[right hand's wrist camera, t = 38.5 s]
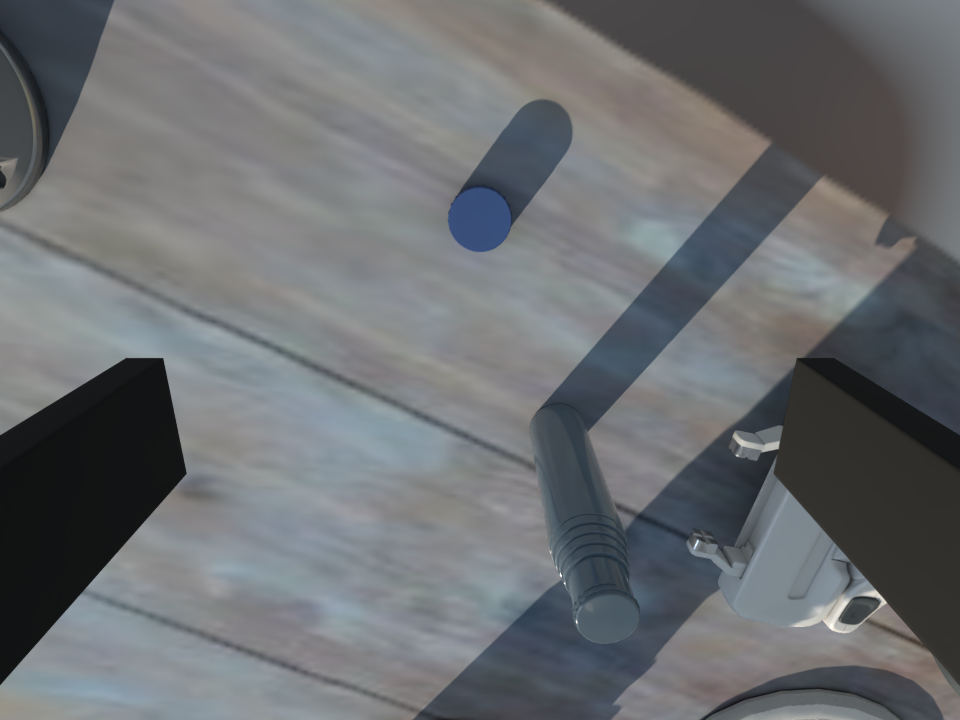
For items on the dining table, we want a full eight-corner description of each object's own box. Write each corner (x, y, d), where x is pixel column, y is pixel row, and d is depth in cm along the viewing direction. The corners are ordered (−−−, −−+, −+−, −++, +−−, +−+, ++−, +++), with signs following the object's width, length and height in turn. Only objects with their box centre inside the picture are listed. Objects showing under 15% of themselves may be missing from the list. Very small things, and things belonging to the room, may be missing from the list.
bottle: (534, 400, 50) (571, 578, 30) (589, 407, 51) (663, 588, 30) (525, 449, 52) (555, 649, 32) (578, 455, 52) (642, 658, 32)
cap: (480, 260, 46) (480, 265, 44) (436, 217, 45) (434, 221, 43) (523, 216, 45) (525, 219, 43) (479, 171, 44) (479, 172, 42)
